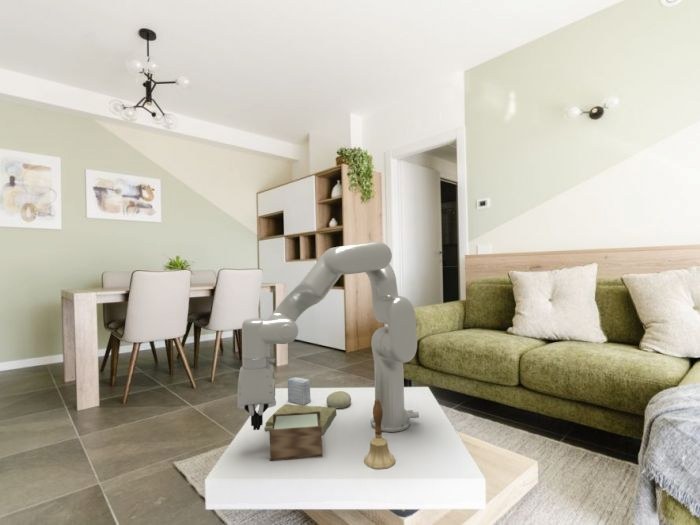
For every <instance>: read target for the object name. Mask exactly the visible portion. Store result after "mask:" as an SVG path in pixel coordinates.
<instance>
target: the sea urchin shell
mask: <svg viewBox="0 0 700 525" xmlns="http://www.w3.org/2000/svg"><path fill="white" fill-rule="evenodd" d="M351 402H352V397H351V395H350V394H349V393H348V392H346V391H343V390H339V391H334V392H331V393H329V394H328V395H327V397H326V404H327V405H328V407H332V408H336V409H344V408H347V407H348V406H349V405H350V404H351Z"/></svg>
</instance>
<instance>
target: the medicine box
mask: <svg viewBox="0 0 700 525" xmlns="http://www.w3.org/2000/svg"><path fill="white" fill-rule="evenodd" d="M310 380H311V379H306V378H302V377H296V376H294V377H292V378H289V379H287V401H288V402H289V403H293V404H296V405H305V406H306V404H308V403H310V402H311V381H310Z"/></svg>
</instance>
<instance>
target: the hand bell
mask: <svg viewBox="0 0 700 525" xmlns="http://www.w3.org/2000/svg"><path fill="white" fill-rule="evenodd" d="M382 416H383V411H382V407H381V404H380V400H375V399H374V404H373V408H372V418H374V421H375V428H374V429H375V432H374V433H375V437H373V438H372V439H371V440H370V444H369V450H368V452H367V454H366V455H365V457H364V459H363V462H364V464H365V465H366V466H367V467H368V468H371V469H375V470H384V469H389V468H391V467H393V466H394V465H395V464H396V459H395V456H394V455H393V454H391V452H390V450H389V444H388V440H387V438H385V437H383V435H382V432H383V431H381V421H382Z"/></svg>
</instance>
